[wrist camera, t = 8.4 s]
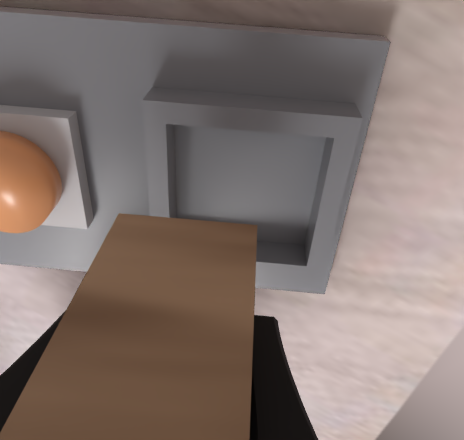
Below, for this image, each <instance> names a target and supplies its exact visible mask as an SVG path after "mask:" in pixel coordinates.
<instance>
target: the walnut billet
mask: <svg viewBox="0 0 464 440" xmlns="http://www.w3.org/2000/svg"><path fill="white" fill-rule="evenodd" d="M256 249H257V225H251V224H239V223H227V222H215V221H204V220H192V219H180V218H168V217H156V216H144V215H133V214H121V213H119V214H118V216H117V218H116V219H115V221H114V223H113V225H112V227H111V229H110V231H109V232H108V234H107V236H106V238H105V240H104V242H103V243H102V245H101V247H100V249H99V251H98V253H97V255H96V256H95V258H94V260H93V262H92V264H91V266H90V267H89V269H88V271H87V273H86V275H85V277H84V279H83V280H82V282H81V284H80V286H79V288H78V290H77V292H76V293H75V295H74V297H73V299H72V301H71V303H70V304H69V306H68V308H67V310H66V312H65V314H64V316H63V317H62V319H61V321H60V323H59V325H58V327H57V328H56V330H55V332H54V334H53V336H52V338H51V340H50V341H49V343H48V345H47V347H46V349H45V351H44V353H43V354H42V356H41V358H40V360H39V362H38V364H37V365H36V367H35V369H34V371H33V373H32V375H31V377H30V378H29V380H28V382H27V384H26V386H25V388H24V390H23V391H22V393H21V395H20V397H19V399H18V401H17V402H16V404H15V406H14V408H13V410H12V412H11V414H10V415H9V417H8V419H7V421H6V423H5V425H4V426H3V428H2V430H1V432H0V440H249V438H250V411H251V384H252V357H253V330H254V303H255V276H256Z"/></svg>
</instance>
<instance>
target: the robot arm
mask: <svg viewBox="0 0 464 440" xmlns="http://www.w3.org/2000/svg"><path fill="white" fill-rule="evenodd" d="M65 312H66V311H65ZM65 312H64V313H63V314H62V315H61V316H60V317H59V318H58V319H57V320H56V321H55V322H54V323H53V325H52V326H51V327H50V328H49V329H48V330H47V331H46V332H45V333H44V334H43V335H42V336H41V337H40V338H39V339H38V340H37V341H36V342H35V343H34V344H33V345H32V346H31V347H30V348H29V349H28V350H27V351H26V352H25V353H24V354H23V355H22V356H21V357H19V358H18V359H17V360H16V361H15V362H14V363H13V364H12V365H11V366H10V367H9V368H8V369H7V370H6V371H5V372H4V373H3V374H1V375H0V432H1V430H2V428H3V426H4V425H5V423H6V421H7V419H8V417H9V415H10V414H11V412H12V410H13V408H14V406H15V404H16V402H17V401H18V399H19V397H20V395H21V393H22V391H23V390H24V388H25V386H26V384H27V382H28V380H29V378H30V377H31V375H32V373H33V371H34V369H35V367H36V365H37V364H38V362H39V360H40V358H41V356H42V354H43V353H44V351H45V349H46V347H47V345H48V343H49V341H50V340H51V338H52V336H53V334H54V332H55V330H56V328H57V327H58V325H59V323H60V321H61V319H62V317H63V316H64V314H65ZM249 440H318V438H317V436H316V434H315V431H314V429H313V427H312V425H311V422H310V420H309V418H308V415H307V413H306V411H305V408H304V406H303V403H302V401H301V398H300V396H299V393H298V390H297V387H296V385H295V382H294V379H293V377H292V374H291V371H290V368H289V365H288V362H287V358H286V355H285V352H284V348H283V345H282V341H281V337H280V332H279V327H278V321H277V320H276V319H275V318H274V317H269V316H258V315H254V330H253V357H252V384H251V411H250V438H249Z"/></svg>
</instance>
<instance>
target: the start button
mask: <svg viewBox="0 0 464 440" xmlns="http://www.w3.org/2000/svg"><path fill="white" fill-rule="evenodd" d="M61 194H62V182H61V178H60V174H59V172H58V170H57V168H56V166H55V164H54V163H53V161H52V160H51V159H50V157H49V156H48V155H47V154H46V153H45V152H44V151H43V150H42V149H41V148H39V147H38V146H37V145H36V144H34V143H33V142H31V141H29V140H28V139H26V138H24V137H22V136H19V135H17V134H14V133H10V132H5V131H0V231H1V232H7V233H24V232H29V231H31V230H34V229H36V228H37V227H39V226H40V225H41V224H42V223H43V222H44V221H45V220H46V218H47V217H48V216H49V215H50V213H51V212H52V211H53V209H54V208H55V207H56V206H57V204H58V202H59V201H60V198H61Z"/></svg>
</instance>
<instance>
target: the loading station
mask: <svg viewBox="0 0 464 440" xmlns="http://www.w3.org/2000/svg"><path fill="white" fill-rule="evenodd" d="M389 45H390V41H389V40H388V39H387V38H386V37H384V36H378V35H365V34H352V33H339V32H326V31H313V30H300V29H287V28H274V27H261V26H248V25H235V24H222V23H209V22H196V21H183V20H170V19H157V18H144V17H132V16H119V15H106V14H93V13H80V12H67V11H54V10H41V9H28V8H15V7H2V6H0V131H5V132H10V133H14V134H17V135H19V136H22V137H24V138H26V139H28V140H29V141H31V142H33V143H34V144H36V145H37V146H38V147H39V148H41V149H42V150H43V151H44V152H45V153H46V154H47V155H48V156H49V157H50V159H51V160H52V161H53V163H54V164H55V166H56V168H57V170H58V172H59V174H60V178H61V182H62V194H61V198H60V201H59V202H58V204H57V206H56V207H55V208H54V209H53V211H52V212H51V213H50V215H49V216H48V217H47V218H46V220H45V221H44V222H43V223H42V224H41V225H40V226H39V227H37V228H36V229H34V230H31V231H29V232H24V233H7V232H1V231H0V264H7V265H18V266H29V267H39V268H50V269H61V270H71V271H82V272H87V271H88V269H89V267H90V266H91V264H92V262H93V260H94V258H95V256H96V255H97V253H98V251H99V249H100V247H101V245H102V243H103V242H104V240H105V238H106V236H107V234H108V232H109V231H110V229H111V227H112V225H113V223H114V221H115V219H116V218H117V216H118V214H119V213H121V214H133V215H144V216H156V217H168V218H180V219H192V220H204V221H215V222H227V223H239V224H251V225H257V249H256V276H255V288H264V289H275V290H285V291H296V292H307V293H317V294H325V291H326V287H327V283H328V279H329V275H330V271H331V268H332V264H333V260H334V256H335V252H336V248H337V245H338V241H339V237H340V233H341V229H342V225H343V222H344V218H345V214H346V210H347V206H348V202H349V199H350V195H351V191H352V187H353V183H354V179H355V176H356V172H357V168H358V164H359V160H360V157H361V153H362V149H363V145H364V141H365V137H366V134H367V130H368V126H369V122H370V118H371V114H372V111H373V107H374V103H375V99H376V95H377V91H378V88H379V84H380V80H381V76H382V72H383V68H384V65H385V61H386V57H387V53H388V49H389Z"/></svg>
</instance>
